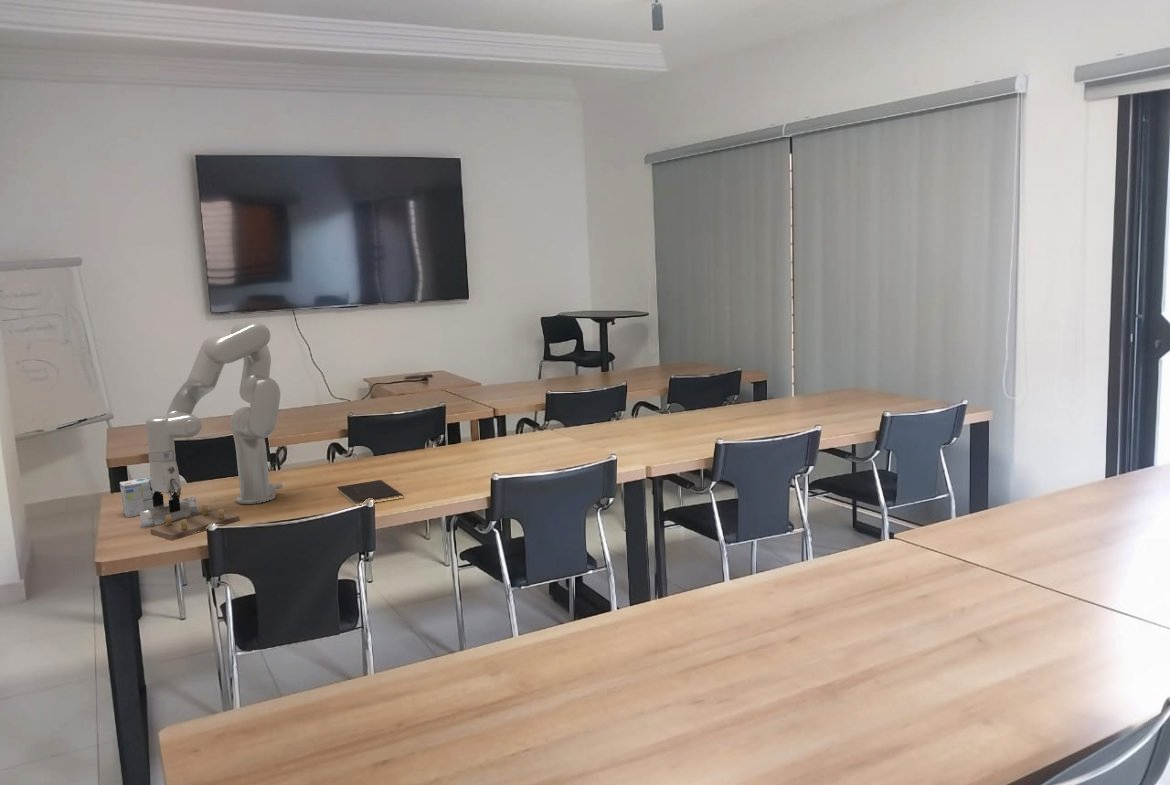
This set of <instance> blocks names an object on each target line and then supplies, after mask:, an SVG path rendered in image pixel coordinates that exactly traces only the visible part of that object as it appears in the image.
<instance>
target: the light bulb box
mask: <svg viewBox="0 0 1170 785" xmlns="http://www.w3.org/2000/svg"><path fill="white" fill-rule="evenodd" d="M149 480H150V476H149V477H144V478H143V477H142V478H136V479H131V480H126V481H120V482H119V489H120V496H121V500H122V509H123V510H122V511H123V514H124V516H126V517H127V518H130V517H131V518H133V517H136V516H140V512H139V511H140V510H143V509H148V508H152V507H153V499H152V495H151V492H152V491H151V489H150V485H149ZM153 496H154V495H153Z"/></svg>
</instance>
